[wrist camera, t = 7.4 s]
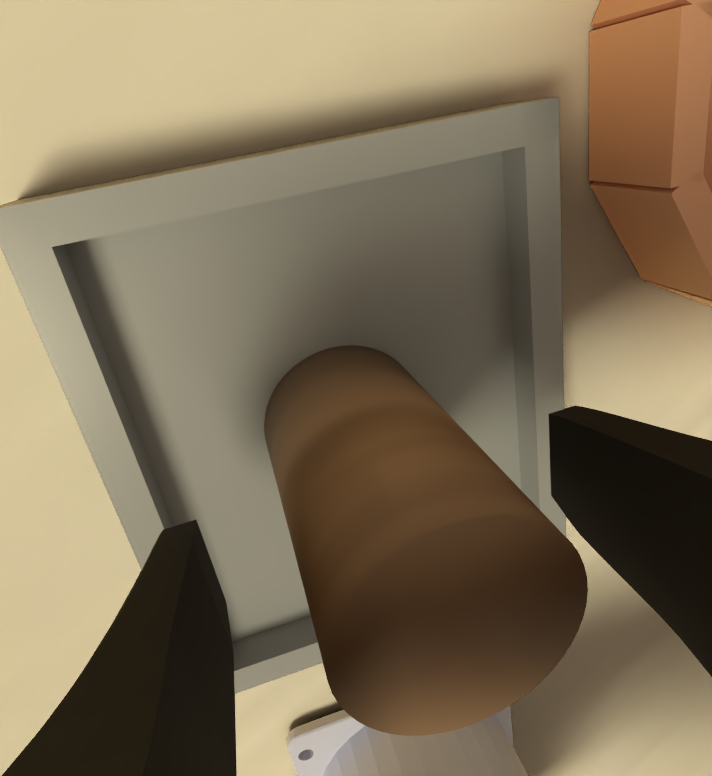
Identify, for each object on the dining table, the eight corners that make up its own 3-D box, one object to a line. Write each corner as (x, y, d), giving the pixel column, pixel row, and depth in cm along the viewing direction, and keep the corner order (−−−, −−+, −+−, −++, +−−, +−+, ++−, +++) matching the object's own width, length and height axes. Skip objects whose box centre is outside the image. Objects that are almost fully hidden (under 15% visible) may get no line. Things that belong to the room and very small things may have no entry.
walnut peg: (427, 466, 16) (585, 681, 9) (283, 508, 15) (350, 770, 9) (410, 328, 14) (590, 478, 8) (246, 368, 13) (299, 569, 7)
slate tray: (531, 535, 19) (566, 576, 17) (199, 647, 17) (201, 705, 15) (509, 102, 13) (558, 96, 12) (15, 200, 12) (-16, 210, 10)
